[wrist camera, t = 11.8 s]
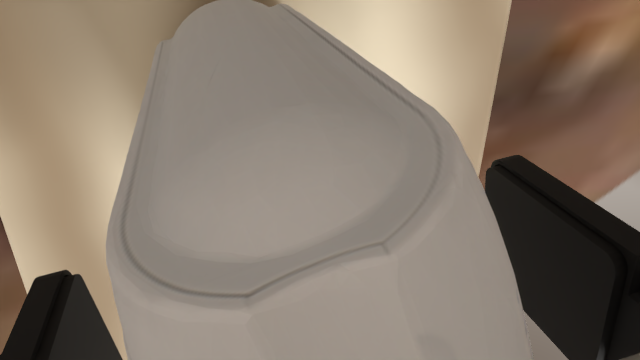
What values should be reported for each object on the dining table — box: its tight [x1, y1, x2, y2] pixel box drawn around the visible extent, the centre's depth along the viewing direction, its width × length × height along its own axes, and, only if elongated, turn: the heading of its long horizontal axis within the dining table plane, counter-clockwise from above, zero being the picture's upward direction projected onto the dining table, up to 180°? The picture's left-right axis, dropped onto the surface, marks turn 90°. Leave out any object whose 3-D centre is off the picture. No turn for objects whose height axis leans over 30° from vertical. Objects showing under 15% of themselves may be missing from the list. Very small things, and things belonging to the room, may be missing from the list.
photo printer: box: [106, 0, 534, 360], centre depth 10 cm, size 10×4×12 cm, turn 15°
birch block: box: [0, 0, 512, 360], centre depth 18 cm, size 16×16×6 cm
